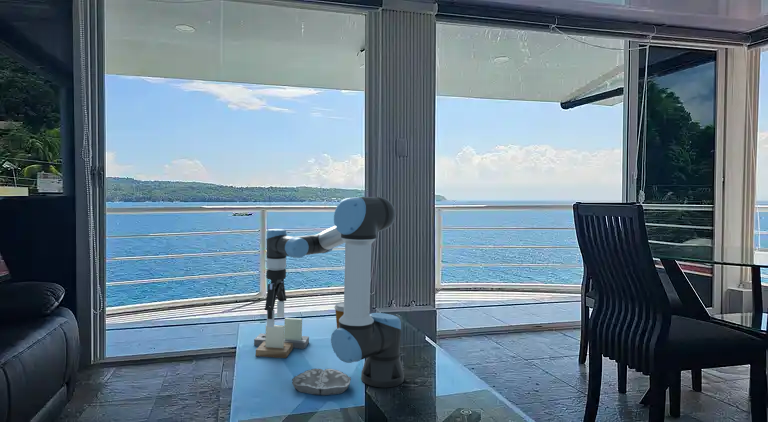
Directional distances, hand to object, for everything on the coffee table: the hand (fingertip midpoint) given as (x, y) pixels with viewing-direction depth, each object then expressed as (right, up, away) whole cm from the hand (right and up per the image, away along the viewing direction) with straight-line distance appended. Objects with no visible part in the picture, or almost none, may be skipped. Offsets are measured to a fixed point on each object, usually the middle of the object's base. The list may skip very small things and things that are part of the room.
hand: (275, 321), depth 205 cm
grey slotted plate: (0, -12, +12) cm, 17 cm away
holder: (-1, -12, +1) cm, 13 cm away
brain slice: (+21, -16, -28) cm, 39 cm away
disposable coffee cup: (+24, -11, +33) cm, 42 cm away
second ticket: (+5, -12, +11) cm, 17 cm away
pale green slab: (-1, -13, +1) cm, 13 cm away
